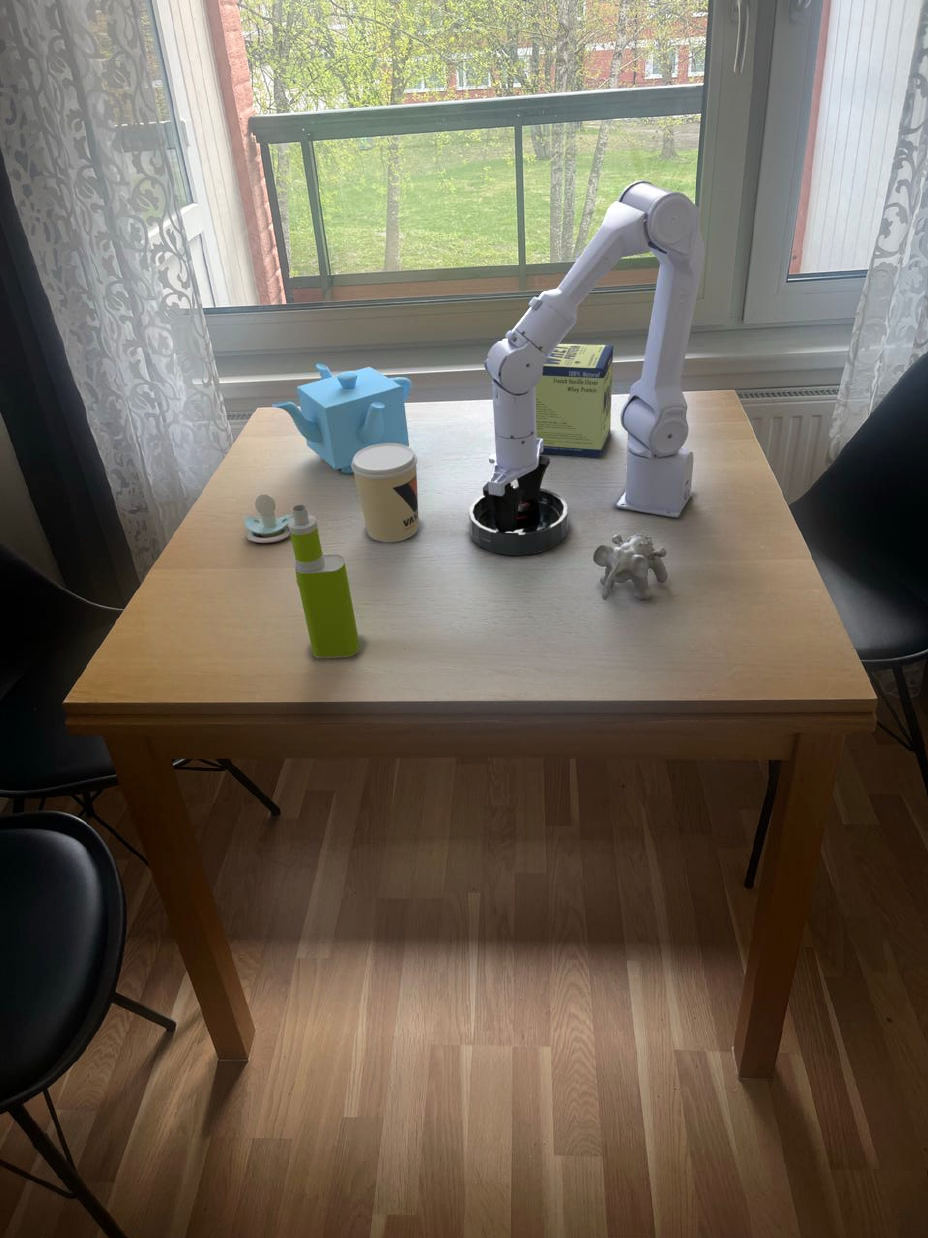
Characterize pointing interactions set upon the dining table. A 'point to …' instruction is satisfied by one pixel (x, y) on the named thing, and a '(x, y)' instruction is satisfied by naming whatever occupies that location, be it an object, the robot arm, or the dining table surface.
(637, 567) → the gray elephant figurine
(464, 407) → the dining table surface
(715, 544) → the dining table surface
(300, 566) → the vape
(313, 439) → the teakettle
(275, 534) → the pacifier
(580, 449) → the protein box
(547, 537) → the bowl
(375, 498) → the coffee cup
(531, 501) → the wireless earbuds
